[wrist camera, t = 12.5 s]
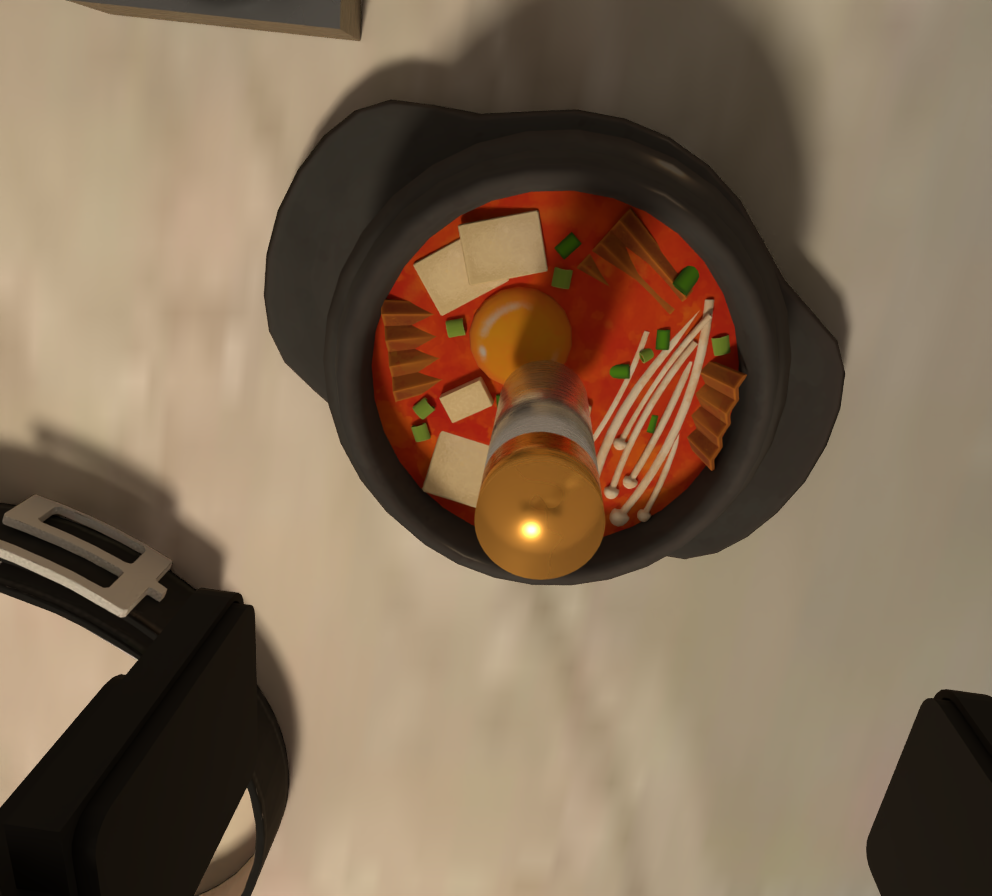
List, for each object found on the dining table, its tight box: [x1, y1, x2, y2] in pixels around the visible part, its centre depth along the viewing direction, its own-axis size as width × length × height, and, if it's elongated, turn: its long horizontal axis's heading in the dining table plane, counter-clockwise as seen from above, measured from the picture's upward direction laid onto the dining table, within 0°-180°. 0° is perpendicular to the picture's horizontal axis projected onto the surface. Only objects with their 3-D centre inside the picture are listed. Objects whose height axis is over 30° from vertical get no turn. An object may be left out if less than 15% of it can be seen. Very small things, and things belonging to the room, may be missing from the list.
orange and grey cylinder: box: [474, 360, 605, 580], centre depth 21 cm, size 3×3×9 cm
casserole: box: [264, 100, 845, 585], centre depth 29 cm, size 25×19×8 cm
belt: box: [0, 494, 289, 896], centre depth 42 cm, size 29×30×5 cm
